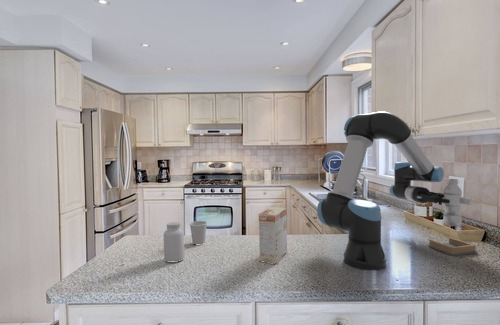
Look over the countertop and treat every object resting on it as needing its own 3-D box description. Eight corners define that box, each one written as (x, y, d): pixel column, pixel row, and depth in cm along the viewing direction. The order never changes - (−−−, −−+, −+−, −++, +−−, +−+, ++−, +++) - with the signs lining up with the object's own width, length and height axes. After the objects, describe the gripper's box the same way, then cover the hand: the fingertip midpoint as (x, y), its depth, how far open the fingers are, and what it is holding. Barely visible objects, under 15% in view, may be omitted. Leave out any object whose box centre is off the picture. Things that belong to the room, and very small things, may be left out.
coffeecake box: (272, 250, 123) (271, 206, 122) (287, 252, 120) (287, 207, 119) (258, 262, 110) (257, 213, 109) (275, 265, 106) (274, 214, 106)
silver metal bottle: (455, 223, 122) (455, 178, 122) (465, 227, 116) (466, 180, 115) (439, 223, 123) (439, 178, 122) (449, 227, 116) (449, 180, 116)
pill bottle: (178, 254, 119) (177, 220, 119) (188, 259, 114) (187, 223, 113) (160, 259, 114) (159, 223, 113) (170, 265, 108) (169, 227, 108)
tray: (454, 255, 112) (454, 248, 112) (428, 246, 124) (428, 239, 124) (476, 252, 115) (476, 245, 115) (449, 243, 127) (449, 237, 127)
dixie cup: (202, 247, 128) (201, 225, 128) (186, 245, 131) (186, 224, 131) (210, 241, 136) (210, 221, 136) (195, 240, 139) (195, 220, 139)
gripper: (433, 200, 139) (482, 209, 116) (401, 203, 134) (445, 213, 112) (433, 185, 138) (482, 191, 116) (401, 187, 134) (445, 194, 111)
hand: (464, 202), depth 114 cm, fingers closed on silver metal bottle, 6 cm apart
